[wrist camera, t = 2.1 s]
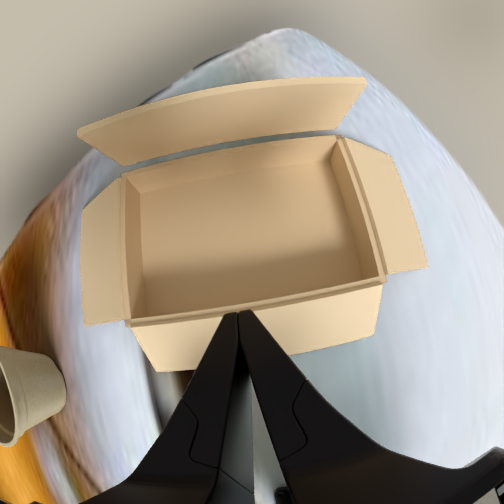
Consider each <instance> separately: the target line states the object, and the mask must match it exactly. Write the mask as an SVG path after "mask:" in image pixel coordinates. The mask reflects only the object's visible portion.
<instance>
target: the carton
mask: <svg viewBox="0 0 504 504" xmlns="http://www.w3.org/2000/svg"><path fill="white" fill-rule="evenodd" d="M426 267H428V262H427V258H426V255H425V251H424V247H423V244H422V240H421V237H420V233H419V230H418V227H417V223H416V220H415V217H414V214H413V211H412V208H411V205H410V202H409V200H408V197H407V194H406V191H405V189H404V186H403V183H402V181H401V178H400V176H399V173H398V171H397V168H396V166H395V164H394V161H393V159H392V157H391V156H390V155H388V154H386V153H383V152H381V151H379V150H376V149H374V148H371V147H369V146H366V145H364V144H361V143H359V142H356V141H354V140H351V139H348V138H346V137H344V138H343V139H342V137H341V135H329V136H316V137H306V138H296V139H287V140H279V141H271V142H264V143H257V144H250V145H244V146H238V147H232V148H227V149H221V150H216V151H211V152H206V153H201V154H196V155H191V156H187V157H182V158H178V159H174V160H170V161H165V162H161V163H157V164H154V165H150V166H146V167H142V168H139V169H135V170H132V171H128V172H125V173H121V178H119V177H118V178H116V179H115V180H114V181H113V182H112V183H111V184H110V185H108V186H107V187H106V188H105V189H104V190H103V191H102V192H101V193H100V194H99V195H98V196H96V197H95V198H94V199H93V200H92V201H91V202H90V203H89V204H88V205H87V206H86V207H85V208H84V209H83V210H82V220H81V245H80V271H81V296H82V310H83V321H84V326H91V325H97V324H103V323H109V322H115V321H120V320H125V325H126V327H130V328H131V330H132V332H133V334H134V335H135V337H136V339H137V341H138V342H139V344H140V346H141V347H142V349H143V351H144V352H145V354H146V356H147V357H148V359H149V360H150V362H151V364H152V365H153V367H154V368H155V370H156V371H157V372H167V371H181V370H192V369H196V368H197V366H198V364H199V362H200V360H201V358H202V356H203V355H204V353H205V351H206V349H207V347H208V345H209V343H210V341H211V339H212V337H213V335H214V333H215V331H216V329H217V327H218V325H219V323H220V321H221V319H222V317H223V315H224V314H226V313H230V312H237V313H238V312H239V311H241V310H247V309H251V310H252V311H253V312H254V313H255V315H256V316H257V317H258V318H259V320H260V321H261V322H262V324H263V325H264V326H265V327H266V329H267V330H268V331H269V332H270V334H271V335H272V336H273V337H274V339H275V340H276V341H277V342H278V344H279V345H280V346H281V347H282V349H283V350H284V351H285V352H286V354H287V355H288V356H290V355H295V354H300V353H304V352H309V351H314V350H318V349H322V348H327V347H331V346H335V345H339V344H343V343H347V342H351V341H354V340H358V339H362V338H365V337H369V336H372V335H374V331H375V326H376V321H377V316H378V311H379V305H380V300H381V294H382V288H383V283H386V282H387V279H386V275H387V274H393V273H399V272H405V271H411V270H416V269H422V268H426Z"/></svg>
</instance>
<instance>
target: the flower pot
mask: <svg viewBox="0 0 504 504" xmlns="http://www.w3.org/2000/svg"><path fill="white" fill-rule="evenodd" d="M65 403H66V387H65V382H64V379H63V376H62V374H61V372H60V371H59V370H58V369H57V367H56V366H55V364H54V362H53V360H52V359H50V358H49V357H48V356H46V355H44V354H39V353H33V352H27V351H21V350H16V349H12V348H8V347H3V346H0V445H2V446H5V447H10V446H13V445H14V444H15V443H16V442H17V440H18V438H19V437H21V436H22V435H23V433H24V432H25V431H26V430H27V429H29V428H31V427H33V426H34V425H36V424H38V423H40V422H41V421H43V420H45V419H47V418H48V417H50V416H52V415H54V414H56V413H58V412H59V411H60V410H61V409H62V408H63V406H64V405H65Z"/></svg>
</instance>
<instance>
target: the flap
mask: <svg viewBox="0 0 504 504" xmlns="http://www.w3.org/2000/svg"><path fill="white" fill-rule="evenodd" d="M366 86H367V82H366V79H365V78H364V77H301V78H285V79H273V80H264V81H255V82H247V83H240V84H233V85H227V86H221V87H216V88H210V89H205V90H200V91H196V92H191V93H187V94H182V95H178V96H174V97H170V98H166V99H163V100H159V101H156V102H152V103H149V104H145V105H142V106H139V107H136V108H133V109H129V110H126V111H124V112H121V113H118V114H115V115H112V116H109V117H107V118H104V119H101V120H99V121H97V122H94V123H91V124H89V125H87V126H84V127H82V128H79V129H78V130H77V137H79V138H80V139H82V140H83V141H85V142H86V143H88V144H89V145H91V146H92V147H94V148H95V149H97V150H99V151H100V152H102V153H103V154H105V155H106V156H108V157H109V158H111V159H112V160H114V161H116V162H117V163H119V164H120V165H122V166H123V167H124V166H128V165H131V164H135V163H138V162H142V161H145V160H149V159H153V158H157V157H161V156H165V155H169V154H173V153H177V152H181V151H186V150H190V149H195V148H199V147H204V146H209V145H214V144H220V143H225V142H231V141H237V140H243V139H249V138H256V137H263V136H270V135H278V134H286V133H295V132H305V131H317V130H330V129H336V128H337V126H338V125H339V124H340V122H341V121H342V119H343V118H344V117H345V115H346V114H347V112H348V111H349V110H350V108H351V107H352V105H353V104H354V103H355V101H356V100H357V98H358V97H359V96H360V94H361V93H362V91H363V90H364V89H365V87H366Z"/></svg>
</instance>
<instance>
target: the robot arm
mask: <svg viewBox="0 0 504 504" xmlns="http://www.w3.org/2000/svg"><path fill="white" fill-rule="evenodd" d="M250 377H251V379H250ZM251 380H252V383H253V387H254V390H255V393H256V396H257V399H258V402H259V405H260V409H261V412H262V415H263V418H264V421H265V424H266V427H267V430H268V433H269V436H270V439H271V442H272V445H273V448H274V450H275V453H276V456H277V459H278V462H279V465H280V468H281V470H282V473H283V476H284V479H285V482H286V484H287V487H283V488H278V489H276V490H275V491H274V495H275V500H276V504H504V449H502V448H499V447H494V448H492V449H490V450H489V451H487V452H486V453H484V454H483V455H481V456H480V457H478V458H477V459H475V460H474V461H472V462H471V463H469V464H467V465H466V466H464V467H463V468H458V469H451V468H445V467H441V466H437V465H434V464H430V463H427V462H424V461H420V460H417V459H414V458H411V457H408V456H405V455H402V454H399V453H396V452H393V451H391V450H388V449H386V448H385V447H383V446H381V445H379V444H378V443H376V442H375V441H374V440H372V439H371V438H370V437H368V436H367V435H366V434H365V433H363V432H362V431H361V430H360V429H358V428H357V427H356V426H355V425H354V424H352V423H351V422H350V421H349V420H348V419H346V418H345V417H344V416H343V415H342V414H341V413H339V412H338V411H337V410H336V409H335V408H334V407H333V406H332V405H331V404H330V403H329V402H328V401H326V399H325V398H324V397H323V396H322V395H321V394H320V393H319V392H318V391H317V390H316V389H315V387H314V386H313V385H312V384H311V383H310V381H309V380H307V379H306V377H305V376H304V374H303V373H302V372H301V371H300V370H299V368H298V367H297V366H296V365H295V363H294V362H293V361H292V360H291V359H290V357H289V356H288V355H287V354H286V352H285V351H284V350H283V349H282V347H281V346H280V345H279V344H278V342H277V341H276V340H275V339H274V337H273V336H272V335H271V334H270V332H269V331H268V330H267V329H266V327H265V326H264V325H263V324H262V322H261V321H260V320H259V318H258V317H257V316H256V315H255V313H254V312H253V311H252V310H251V309H247V310H241V311H239V312H238V313H237V312H230V313H226V314H224V315H223V317H222V319H221V321H220V323H219V325H218V327H217V329H216V331H215V333H214V335H213V337H212V339H211V341H210V343H209V345H208V347H207V349H206V351H205V353H204V355H203V356H202V358H201V360H200V362H199V364H198V366H197V368H196V370H195V372H194V374H193V376H192V378H191V380H190V382H189V384H188V386H187V388H186V390H185V392H184V393H183V395H182V399H180V401H179V403H178V405H177V407H176V409H175V411H174V412H173V414H172V416H171V418H170V420H169V421H168V423H167V425H166V426H165V428H164V429H163V431H162V432H161V434H160V435H159V437H158V438H157V440H156V441H155V443H154V444H153V445H152V447H151V448H150V450H149V451H148V453H147V454H146V455H145V457H144V458H143V460H142V461H141V462H140V464H139V465H138V467H137V468H136V469H135V470H134V472H133V473H132V474H131V475H130V476H129V477H128V478H127V479H125V480H124V481H123V482H121V483H120V484H118V485H116V486H114V487H112V488H110V489H108V490H106V491H104V492H103V493H100V494H98V495H96V496H94V497H92V498H90V499H88V500H86V501H84V502H81V503H79V504H255V499H254V495H253V494H254V472H253V441H252V409H251ZM279 492H282V494H278V493H279ZM0 504H12V503H9V502H7V501H5V500H3V499H1V498H0ZM30 504H42V503H39V502H36V501H33V502H32V503H30Z"/></svg>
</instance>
